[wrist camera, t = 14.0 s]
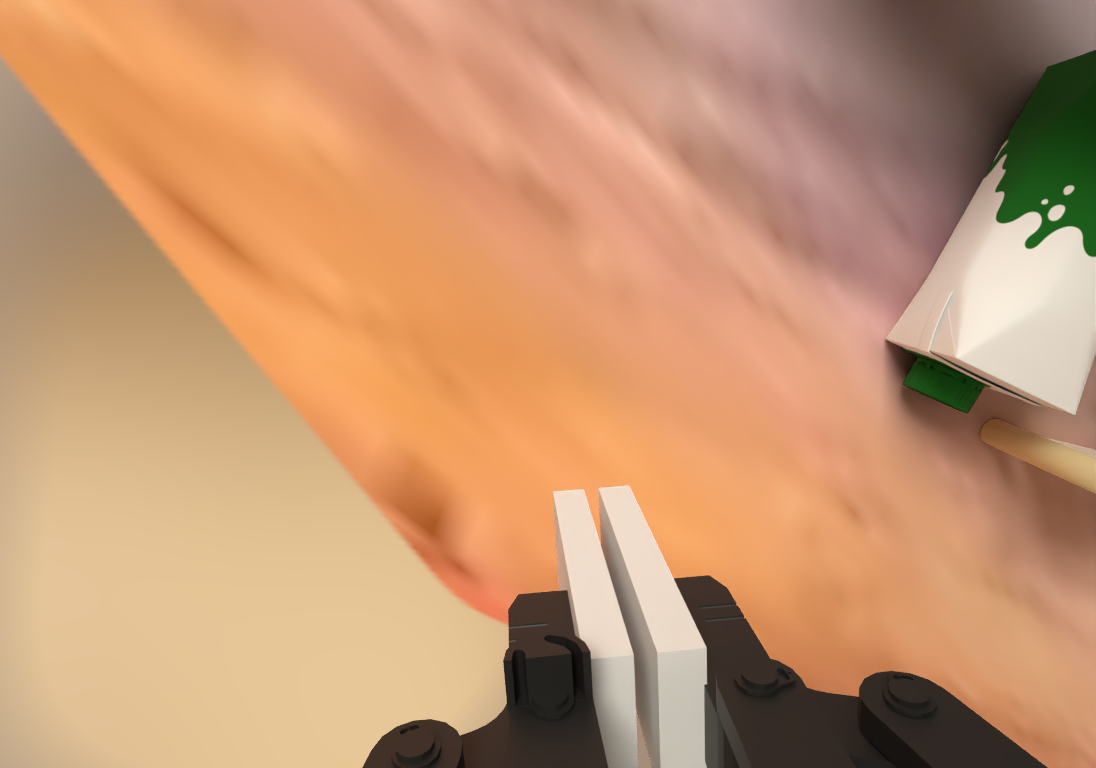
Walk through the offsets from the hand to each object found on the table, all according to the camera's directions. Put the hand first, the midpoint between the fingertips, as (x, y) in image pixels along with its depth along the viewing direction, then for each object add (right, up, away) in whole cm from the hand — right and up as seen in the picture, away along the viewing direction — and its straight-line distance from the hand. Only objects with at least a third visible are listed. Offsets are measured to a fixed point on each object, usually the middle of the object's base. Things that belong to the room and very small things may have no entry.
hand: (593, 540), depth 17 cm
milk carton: (+31, +21, +20) cm, 42 cm away
